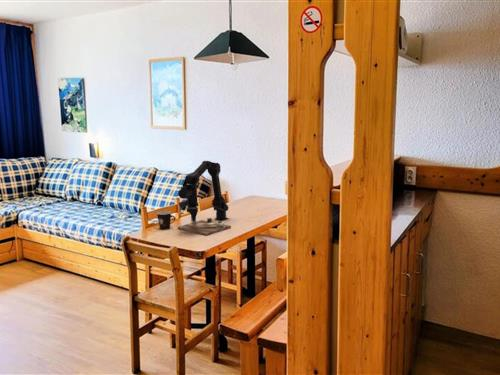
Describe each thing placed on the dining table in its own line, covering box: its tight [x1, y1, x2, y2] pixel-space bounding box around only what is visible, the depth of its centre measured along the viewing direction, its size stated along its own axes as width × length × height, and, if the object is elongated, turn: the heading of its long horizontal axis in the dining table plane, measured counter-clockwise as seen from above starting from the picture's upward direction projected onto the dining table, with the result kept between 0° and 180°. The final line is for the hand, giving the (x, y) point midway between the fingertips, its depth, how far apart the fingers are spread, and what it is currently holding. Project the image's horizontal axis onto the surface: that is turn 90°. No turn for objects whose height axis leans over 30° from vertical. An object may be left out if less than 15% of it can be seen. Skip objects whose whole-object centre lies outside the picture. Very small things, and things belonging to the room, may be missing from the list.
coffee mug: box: [156, 210, 176, 231], centre depth 278 cm, size 12×9×10 cm
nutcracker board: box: [177, 217, 232, 237], centre depth 276 cm, size 21×26×4 cm
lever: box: [190, 216, 225, 227], centre depth 271 cm, size 20×4×8 cm, turn 95°
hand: (193, 220), depth 270 cm, fingers open, 3 cm apart
